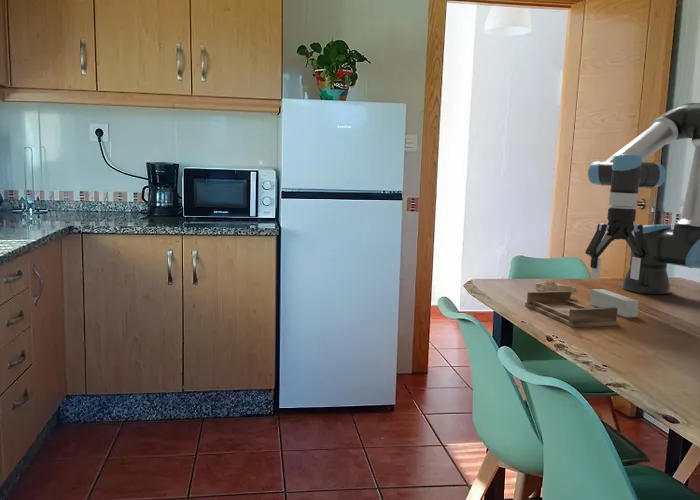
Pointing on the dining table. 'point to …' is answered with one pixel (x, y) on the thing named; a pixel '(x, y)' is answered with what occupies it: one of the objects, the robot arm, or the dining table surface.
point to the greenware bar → (614, 302)
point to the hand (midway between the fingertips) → (614, 279)
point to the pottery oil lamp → (554, 287)
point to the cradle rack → (570, 309)
